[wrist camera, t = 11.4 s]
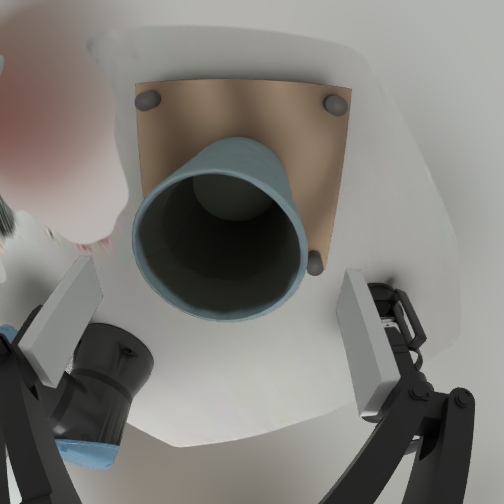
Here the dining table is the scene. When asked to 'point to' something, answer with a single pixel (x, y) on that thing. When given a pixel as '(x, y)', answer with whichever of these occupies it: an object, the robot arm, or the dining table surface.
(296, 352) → the dining table surface
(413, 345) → the french press
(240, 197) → the teal plant pot
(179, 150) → the wooden board with feet
